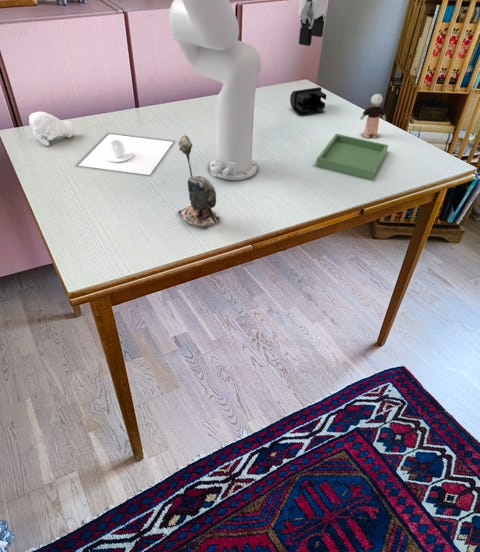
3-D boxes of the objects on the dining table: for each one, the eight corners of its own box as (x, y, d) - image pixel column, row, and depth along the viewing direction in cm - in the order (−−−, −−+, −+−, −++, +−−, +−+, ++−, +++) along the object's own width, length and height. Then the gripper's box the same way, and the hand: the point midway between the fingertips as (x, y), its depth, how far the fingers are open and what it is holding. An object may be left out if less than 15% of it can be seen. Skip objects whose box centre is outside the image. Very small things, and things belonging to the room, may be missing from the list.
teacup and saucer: (112, 147, 132) (109, 133, 129) (138, 150, 131) (136, 136, 128) (98, 161, 125) (96, 147, 123) (126, 165, 124) (124, 150, 121)
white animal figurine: (25, 109, 128) (69, 105, 134) (30, 139, 134) (72, 134, 139) (30, 117, 124) (75, 113, 130) (36, 147, 130) (79, 142, 135)
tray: (372, 179, 122) (374, 171, 120) (315, 166, 127) (317, 158, 125) (386, 152, 134) (388, 145, 132) (334, 141, 139) (335, 133, 137)
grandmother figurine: (377, 132, 144) (386, 91, 136) (382, 137, 142) (392, 95, 133) (354, 134, 143) (362, 92, 134) (359, 139, 140) (368, 97, 132)
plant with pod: (194, 238, 101) (190, 153, 87) (175, 211, 108) (169, 130, 95) (227, 228, 104) (228, 145, 90) (207, 203, 111) (205, 123, 98)
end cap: (314, 104, 160) (316, 84, 155) (325, 112, 155) (328, 91, 151) (288, 108, 157) (290, 88, 152) (299, 116, 152) (301, 95, 147)
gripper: (316, -41, 121) (308, 31, 132) (293, -32, 109) (286, 46, 120) (344, -39, 118) (333, 35, 130) (323, -29, 106) (313, 50, 118)
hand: (310, 40), depth 125 cm, fingers open, 9 cm apart
